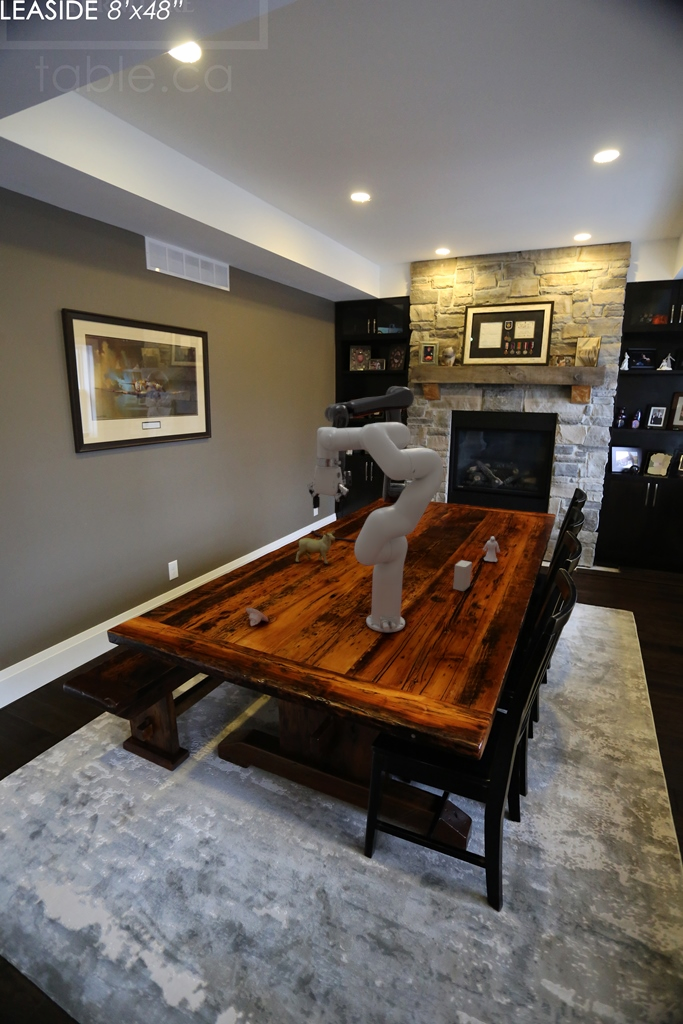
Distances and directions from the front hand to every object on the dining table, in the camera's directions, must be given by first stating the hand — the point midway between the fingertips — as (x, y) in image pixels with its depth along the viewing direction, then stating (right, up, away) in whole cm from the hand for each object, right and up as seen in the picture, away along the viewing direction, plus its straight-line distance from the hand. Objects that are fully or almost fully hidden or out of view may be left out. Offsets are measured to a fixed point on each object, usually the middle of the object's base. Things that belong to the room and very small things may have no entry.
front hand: (327, 509), depth 180 cm
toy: (-6, -23, +38) cm, 45 cm away
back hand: (+3, +6, +24) cm, 25 cm away
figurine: (+72, -23, +45) cm, 88 cm away
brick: (+52, -30, +14) cm, 62 cm away
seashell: (-22, -37, -18) cm, 47 cm away
